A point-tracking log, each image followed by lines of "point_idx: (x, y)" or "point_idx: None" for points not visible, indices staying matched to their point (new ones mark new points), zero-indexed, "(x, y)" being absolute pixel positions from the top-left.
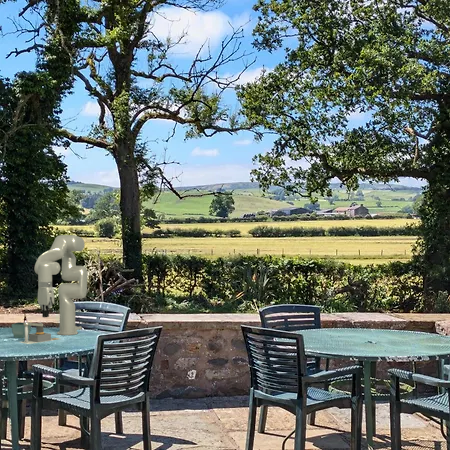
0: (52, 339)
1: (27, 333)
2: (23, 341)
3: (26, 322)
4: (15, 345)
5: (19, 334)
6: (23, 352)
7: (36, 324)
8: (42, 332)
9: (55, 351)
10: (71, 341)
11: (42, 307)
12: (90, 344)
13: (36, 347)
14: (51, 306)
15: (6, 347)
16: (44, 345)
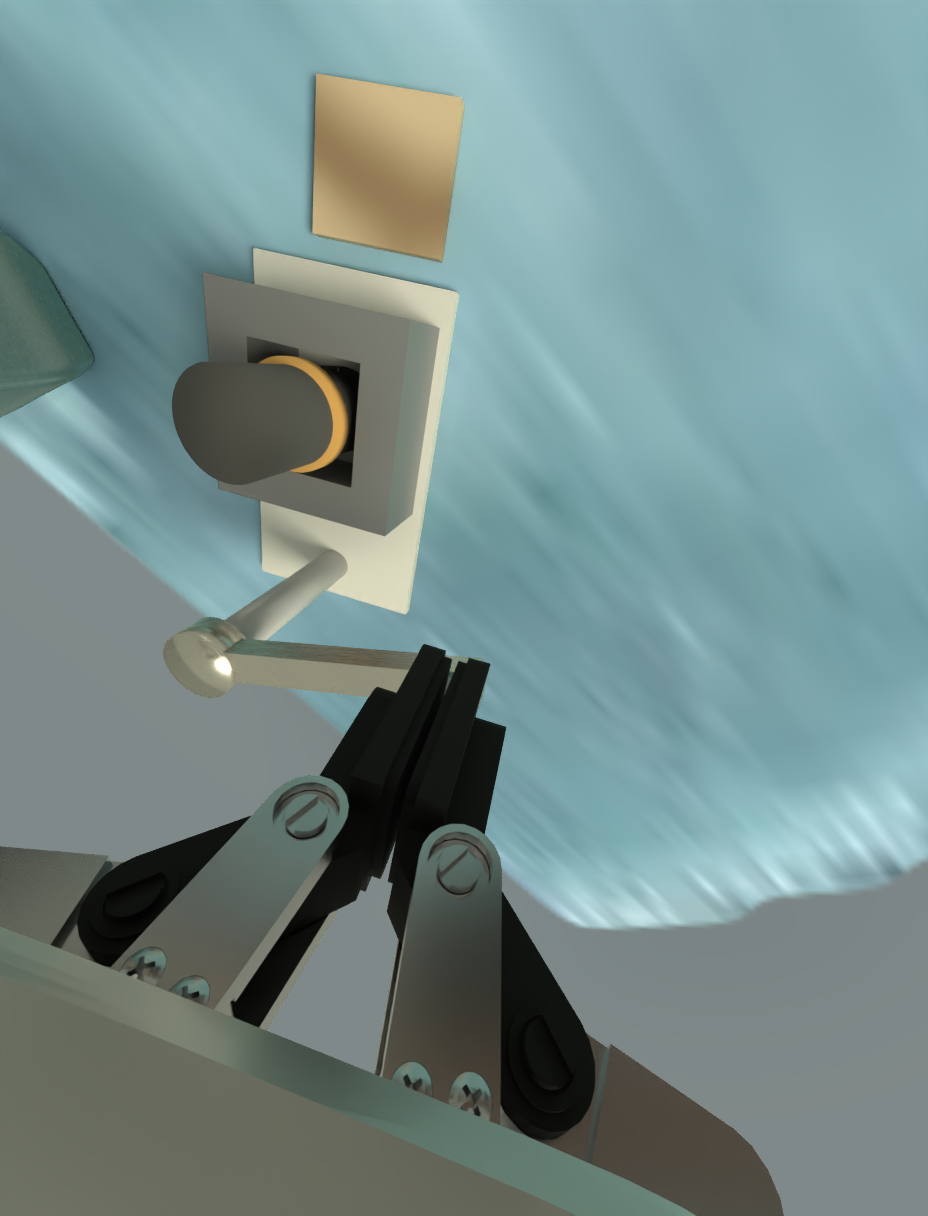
0: (392, 238)
1: (301, 604)
2: (265, 527)
3: (186, 658)
4: None
5: (41, 395)
6: (612, 849)
7: None
8: (332, 417)
9: (861, 784)
10: (705, 120)
11: (286, 965)
12: None
13: (559, 679)
14: (762, 1204)
15: None
16: (555, 574)
